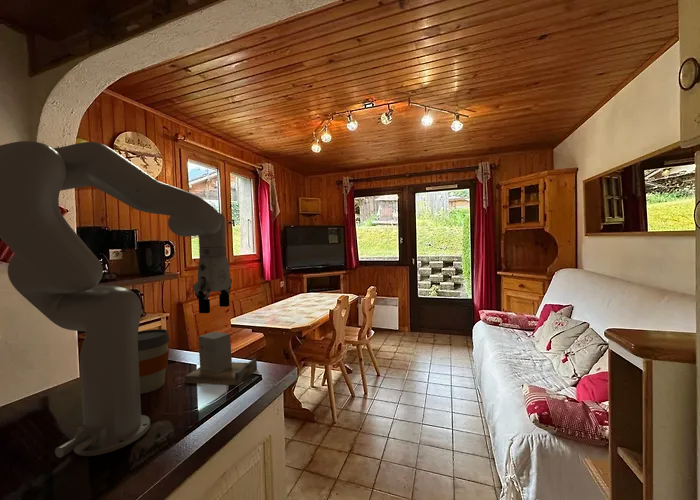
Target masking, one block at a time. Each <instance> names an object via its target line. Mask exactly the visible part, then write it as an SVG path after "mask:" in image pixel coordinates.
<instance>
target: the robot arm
mask: <svg viewBox="0 0 700 500" xmlns="http://www.w3.org/2000/svg"><path fill="white" fill-rule="evenodd" d="M85 187H94V188H95V189H97V190H100V191H101V192H103V193H105V194H107V195H109V196H111V197H112V198H114V199H116V200H118V201H120V202H121V203H123V204H125V205H127V206H128V207H130V208H132V209H135V210H137V211H139V212H144V213H147V214H153V215H162V216H169V217H168V220H167V224H168V225H167V226H168V229H170V232H172V233H173V234H175V235H176V236H179V237H188V238H189V237H198V253H199V259H198V268H197V281H196V282H195V283H194V284H193V285H192V289H193V292H194V295H195V296H196V300H197V301H198V313H199V314H210V313H211V301H210V298H209V297H210V295H211V293H214V292H215V293H216V292H219V295H218V299H219V300H218V301H219V302H218V303H219V307H224V308H225V307H226V308H227V307H230V304H231V303H230V294H231V287H232V282H233V280H232V278H231V271H230V270H231V269H230V264H229V260H228V259H229V258H228V257H227V241H226V240H227V235H226V230H227V229H226V217H225V214H223V213H221V212H218V210H217V209H216V208H215V207H214V206H213V205H211V204H210V203H208V202H207V201H206V200H204V199H203V198H201V197H200V196H198V195H196V194H194V193H192V192H189V191H187V190H185V189H182V188H179V187H176V186H174V185H171V184H168V183H164V182H162V181H160V180H158V179H156V178H154V177H153V176H151V175H150V174H148V172H146V171H145V170H143V169H141V168H140V167H139V166H137V165H136V164H134V163H133V162H131V161H130V160H128V159H127V158H125V157H124V156H122V155H121V154H119V152H117V151H115V150H113V149H112V148H111V147H109V146H107V145H106V144H103V143H100V142H96V141H86V142H85V141H84V142H79V143H74V144H68V145H65V146H61V147H51V145H48V144H46V143H42V142H38V141H33V140H29V141H28V140H26V141H25V140H23V141H22V140H21V141H14V142H13V141H12V142H9V143H4V144H0V240H2V242H4V244H5V245H6V246H7V247H8V248H9V249H10V251H12V252H13V254H14V255H13V257H12V258H11V259H10V261H9V263H8V266H7V277H8V280H9V281H10V283H11V285H12V286H13V288H14V289H15V290H16V291H17V292H18V293H19V294H20V295H21V296H22V297H23V298H24V299H26V300H27V301H28V302H29V303H30V304H31V305H32V306H34V308H36V309H37V310H38V311H39V312H40V313H41V314H42V315H44V316H45V318H47V319H48V320H49V321H51V322H52V323H53V324H54V325H56V326H58V327H59V328H62V329H65V330H69V331H76V332H85V336H84V340H83V342H82V346H81V348H80V353H79V370H80V371H79V373H80V387H81V388H80V390H81V405H82V406H81V407H82V409H81V410H82V425H80V426H79V427H77V429H76V432H77V434H75V435H74V436H73V438H71V439H70V440H68V441H66V442H64V443H62V444H61V445H59V446H57V447H56V448H55V450H54V453H55V456H56V457H57V458H63V457H64V456H66V455H68V454H69V453H71V452H72V451H73V452H74V454H76V455H77V456H80V457H95V456H100V455H106V454H108V453H112V452H114V451H117V450H120V449H122V448H125V447H126V446H128V445H131V444H133V443H134V442H136V441H137V440H139V439H140V438H141V437H143V436H144V435H145V434H146V433H147V432H148V430H149V429H150V427H151V419H150V417H149V416H147V415H145V414H142V407H141V406H142V404H141V403H142V402H141V394H140V379H139V359H138V332H139V329H140V322H141V318H142V317H141V316H142V302H141V300H140V298H139V296H138V295H137V293H136V292H134V291H133V290H131V289H128V288H126V287H123V286H118V285H98V284H99V283H100V282H101V280H102V278H103V274H104V270H103V265H102V263H101V261H100V260H99V258H97V255H95V254H94V253H93V251H92V250H91V249H90V248H89V247H88V246H87V245H86V243H85V242H84V241H83V239H82V238H81V237H80V236H79V235H78V234H77V232H75V230H74V229H73V228H72V227H71V225H70V224H69V223H68V221H67V220H66V219H65V217H64V215H63V214H62V212H61V209H60V205H59V200H60V192H61V191H62V192H63V191H67V190H73V189H78V188H85Z"/></svg>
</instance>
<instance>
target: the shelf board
mask: <svg viewBox="0 0 700 500" xmlns="http://www.w3.org/2000/svg"><path fill="white" fill-rule="evenodd" d="M257 360H258V359H257V358H253V359H251V360H250V361H249V362H239V361H237V362H235V361H234V362H233V361H232V367H231V368H229V369H227V370H225V371H222V372H220V373H218V374H215V373H211V372H207V371H203V370H200V367H198V368H197V369H195V370H193V371H191V372H190V373H187V374H186V375H185V376H184V378H185V383H186V384H198V385H199V384H201V385H202V384H203V385H205V384H206V385H220V386H222V385H224V386H239V385H240V384H241V383H243V382H244V381H245V380H246V379H248V378H249V377H250V376H251V375H252V374H254V373H255V372H256V371H257V370H258V363H257V362H258V361H257Z"/></svg>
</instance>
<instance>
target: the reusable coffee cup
mask: <svg viewBox="0 0 700 500" xmlns="http://www.w3.org/2000/svg"><path fill="white" fill-rule="evenodd" d="M169 342H170V336H169V331H168V330H167V329H165V328H164V329H162V328H157V329H156V328H155V329H145V330H138V359H139V379H140V395H143V394H147V393H150V392H155V391H157V390H158V389H160V388H161V387H163V386H164V385H165V379H166V369H167V367H168V365H169V356H170V355H169V352H170V350H169V349H168V347H169Z"/></svg>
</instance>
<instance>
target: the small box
mask: <svg viewBox="0 0 700 500" xmlns="http://www.w3.org/2000/svg"><path fill="white" fill-rule="evenodd" d="M197 339H198V340H197V341H198V355H199V357H198V358H199V368H200V370H203V371H207V372H211V373H215V374H218V373H220V372H222V371H225V370H227V369H229V368H231V367H232V362H233V360H232V359H233V358H232V356H233V355H232V345H231V344H232V343H231V341H232V340H231V334H230V333H226V332H218V331H211V332H209V333H204V334H202V335H198V338H197Z"/></svg>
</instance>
